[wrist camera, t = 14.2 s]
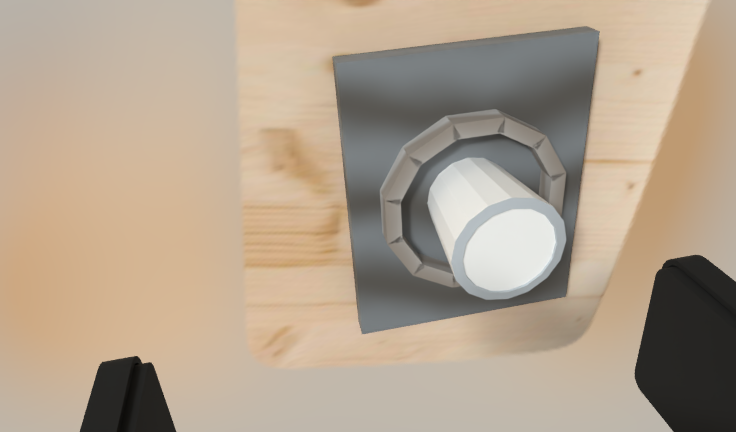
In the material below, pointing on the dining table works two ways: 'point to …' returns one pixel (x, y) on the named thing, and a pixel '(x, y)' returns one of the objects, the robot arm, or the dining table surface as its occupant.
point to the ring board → (455, 156)
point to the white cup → (494, 229)
